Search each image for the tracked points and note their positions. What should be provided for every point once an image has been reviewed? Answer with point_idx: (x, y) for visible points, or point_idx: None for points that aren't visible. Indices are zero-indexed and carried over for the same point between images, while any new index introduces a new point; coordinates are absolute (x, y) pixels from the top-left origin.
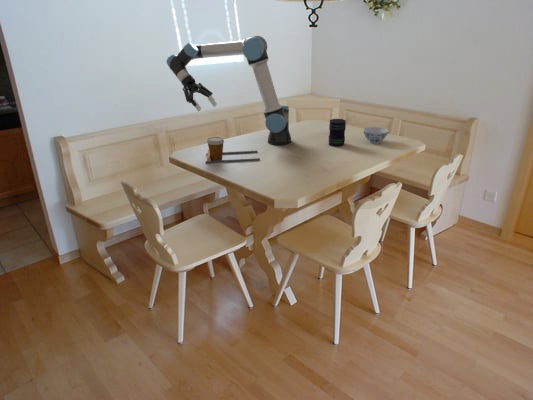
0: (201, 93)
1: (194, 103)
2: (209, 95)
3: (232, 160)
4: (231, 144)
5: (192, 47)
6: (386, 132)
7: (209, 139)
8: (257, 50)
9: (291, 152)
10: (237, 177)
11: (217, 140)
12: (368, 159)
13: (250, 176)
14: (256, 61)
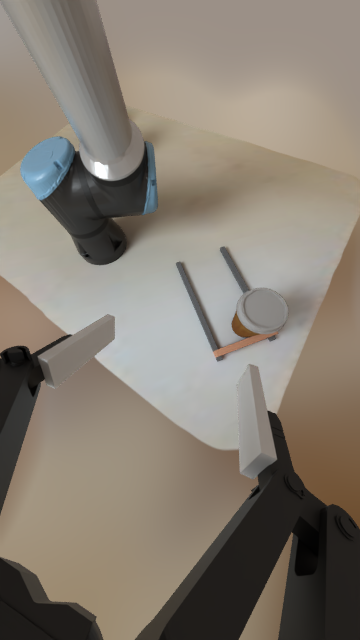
0: (11, 471)
1: (278, 427)
2: (32, 370)
3: (247, 288)
4: (130, 330)
5: None
6: None
7: (269, 325)
8: None
9: (167, 215)
10: (318, 258)
11: (269, 300)
12: (180, 135)
13: (304, 242)
14: None
